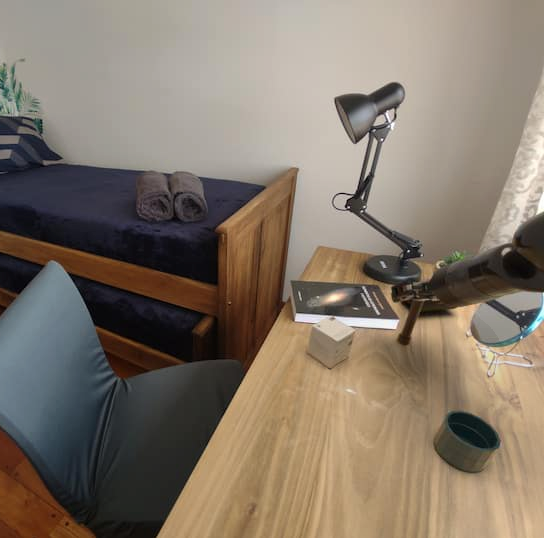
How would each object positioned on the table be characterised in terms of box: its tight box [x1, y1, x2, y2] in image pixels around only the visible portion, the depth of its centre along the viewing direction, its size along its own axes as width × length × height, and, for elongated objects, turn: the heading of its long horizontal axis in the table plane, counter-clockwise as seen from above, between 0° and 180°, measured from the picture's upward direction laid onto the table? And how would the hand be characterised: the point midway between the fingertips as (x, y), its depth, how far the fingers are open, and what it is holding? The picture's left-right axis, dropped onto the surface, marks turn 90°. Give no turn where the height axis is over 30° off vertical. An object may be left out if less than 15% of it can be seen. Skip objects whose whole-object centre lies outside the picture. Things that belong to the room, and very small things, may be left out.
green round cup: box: [433, 410, 502, 473], centre depth 55 cm, size 7×7×6 cm
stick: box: [396, 291, 424, 346], centre depth 75 cm, size 2×2×14 cm
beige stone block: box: [306, 315, 356, 369], centre depth 73 cm, size 6×6×7 cm
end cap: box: [400, 280, 458, 313], centre depth 87 cm, size 10×7×7 cm
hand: (415, 298), depth 74 cm, fingers open, 8 cm apart
